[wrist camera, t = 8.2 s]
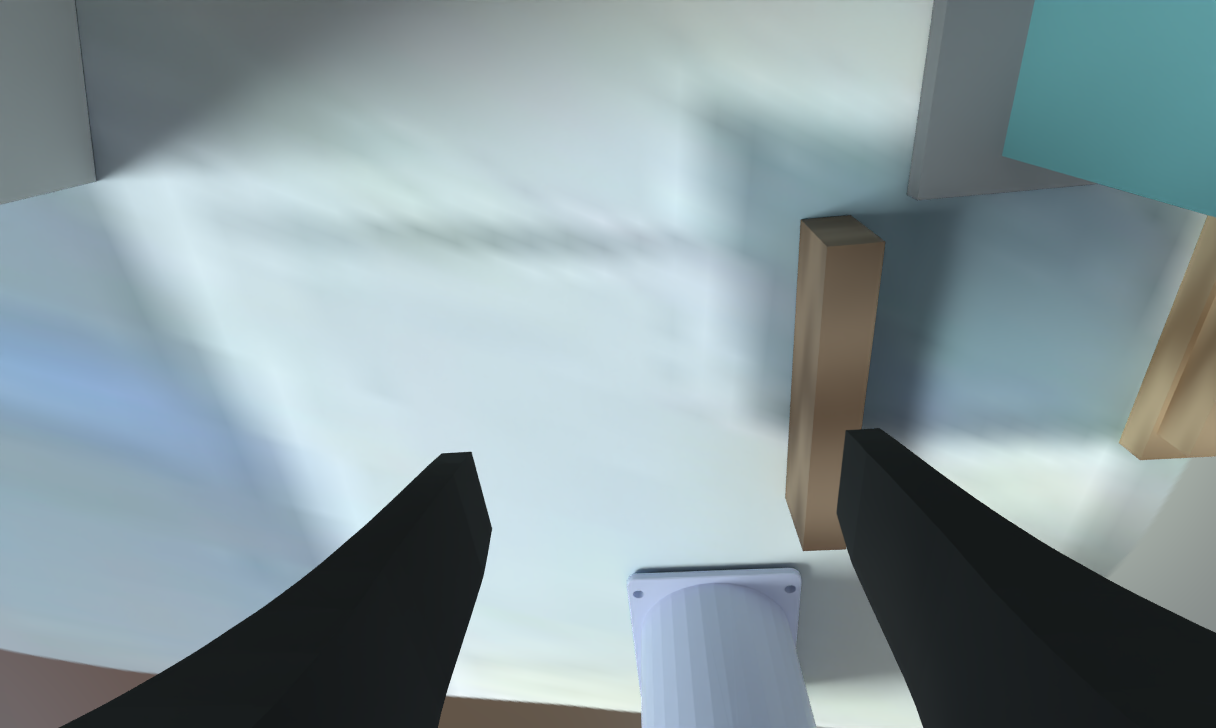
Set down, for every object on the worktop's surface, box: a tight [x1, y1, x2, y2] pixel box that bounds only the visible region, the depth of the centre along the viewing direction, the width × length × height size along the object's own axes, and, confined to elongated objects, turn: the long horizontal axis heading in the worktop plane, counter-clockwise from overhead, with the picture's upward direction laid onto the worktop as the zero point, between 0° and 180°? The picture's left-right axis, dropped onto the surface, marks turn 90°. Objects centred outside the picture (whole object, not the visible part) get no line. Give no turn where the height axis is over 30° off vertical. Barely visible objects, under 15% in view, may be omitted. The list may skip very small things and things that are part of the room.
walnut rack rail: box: [785, 215, 885, 551], centre depth 20 cm, size 12×2×3 cm, turn 6°
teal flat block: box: [1002, 0, 1216, 217], centre depth 12 cm, size 7×2×8 cm, turn 6°
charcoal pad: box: [907, 0, 1098, 200], centre depth 16 cm, size 9×7×1 cm
